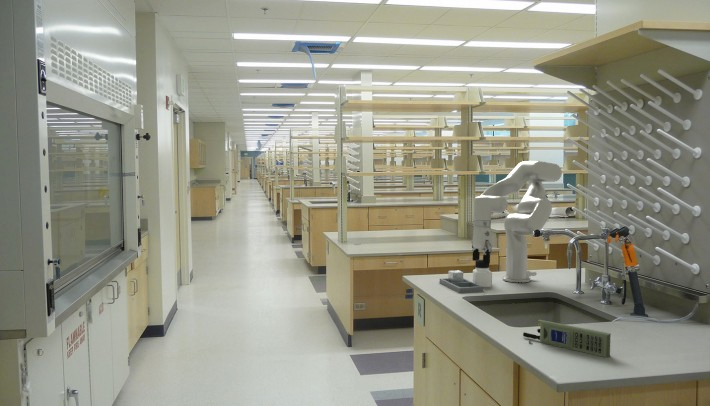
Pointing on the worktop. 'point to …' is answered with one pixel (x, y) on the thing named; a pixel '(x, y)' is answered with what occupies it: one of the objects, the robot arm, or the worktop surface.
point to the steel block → (455, 276)
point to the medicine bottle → (482, 274)
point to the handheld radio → (573, 338)
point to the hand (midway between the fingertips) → (481, 262)
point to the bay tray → (462, 286)
